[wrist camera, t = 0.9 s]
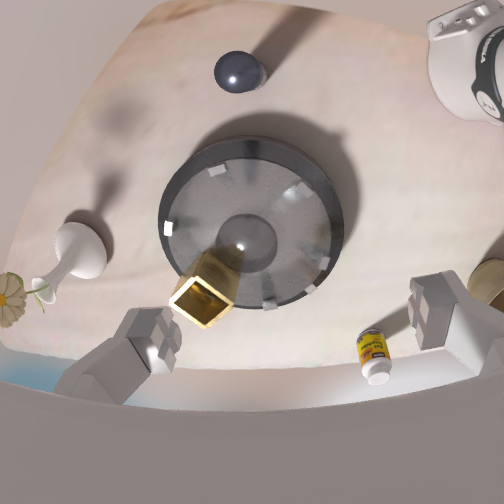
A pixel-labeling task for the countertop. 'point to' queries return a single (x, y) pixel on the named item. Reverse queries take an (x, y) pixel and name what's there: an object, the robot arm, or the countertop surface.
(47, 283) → the flower in vase
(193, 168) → the housing
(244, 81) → the pin
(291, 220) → the grey round disc
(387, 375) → the supplement bottle
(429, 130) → the countertop surface
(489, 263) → the planter bowl
